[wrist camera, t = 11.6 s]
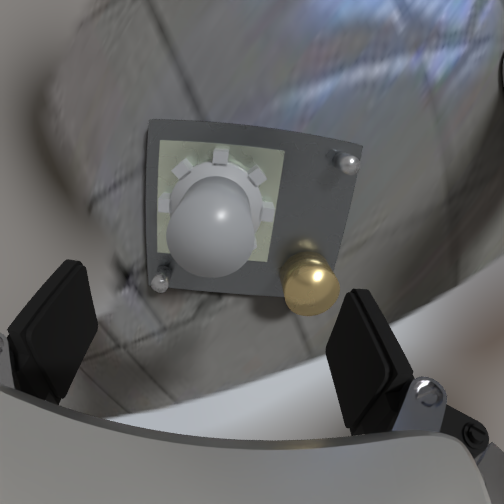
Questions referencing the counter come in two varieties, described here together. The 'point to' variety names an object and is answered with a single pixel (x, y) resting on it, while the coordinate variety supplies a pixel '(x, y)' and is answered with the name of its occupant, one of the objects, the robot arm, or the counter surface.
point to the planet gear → (214, 215)
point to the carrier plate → (272, 190)
